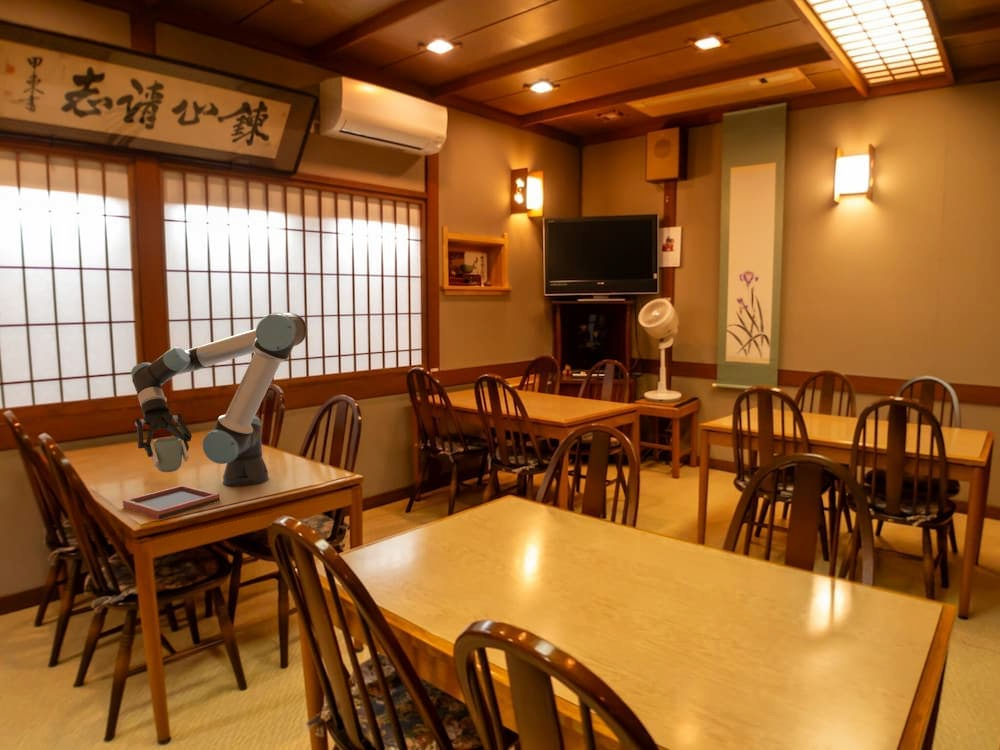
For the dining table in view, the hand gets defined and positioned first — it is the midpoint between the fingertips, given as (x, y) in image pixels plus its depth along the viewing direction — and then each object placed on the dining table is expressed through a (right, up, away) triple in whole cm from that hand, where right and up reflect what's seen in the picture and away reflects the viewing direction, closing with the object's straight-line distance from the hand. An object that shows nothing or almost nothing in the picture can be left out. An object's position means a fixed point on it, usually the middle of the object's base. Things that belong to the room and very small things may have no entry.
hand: (171, 461), depth 206 cm
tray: (-2, -14, +4) cm, 15 cm away
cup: (-2, -4, +3) cm, 5 cm away
